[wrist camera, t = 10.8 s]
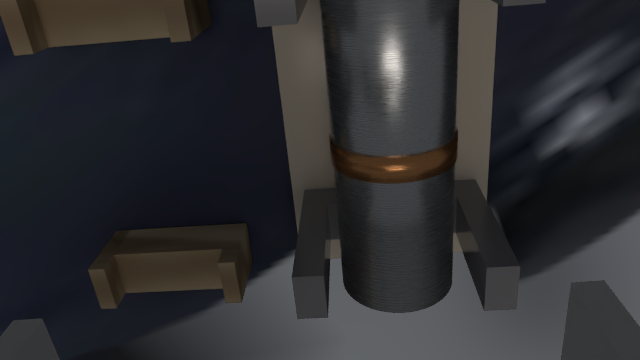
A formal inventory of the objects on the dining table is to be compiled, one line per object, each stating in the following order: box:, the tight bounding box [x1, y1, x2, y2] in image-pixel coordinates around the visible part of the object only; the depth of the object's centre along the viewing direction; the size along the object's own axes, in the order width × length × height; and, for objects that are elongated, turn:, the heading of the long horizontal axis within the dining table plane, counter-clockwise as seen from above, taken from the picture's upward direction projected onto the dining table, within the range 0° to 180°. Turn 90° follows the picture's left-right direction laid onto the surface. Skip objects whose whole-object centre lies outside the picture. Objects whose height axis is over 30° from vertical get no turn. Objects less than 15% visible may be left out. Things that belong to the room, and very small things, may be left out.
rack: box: [0, 0, 253, 309], centre depth 31 cm, size 19×9×4 cm, turn 5°
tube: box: [319, 0, 460, 313], centre depth 24 cm, size 22×6×6 cm, turn 5°
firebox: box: [254, 0, 546, 319], centre depth 26 cm, size 22×12×10 cm, turn 5°
